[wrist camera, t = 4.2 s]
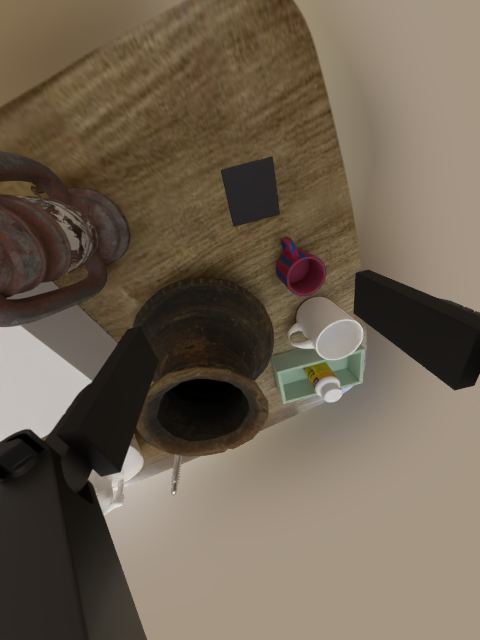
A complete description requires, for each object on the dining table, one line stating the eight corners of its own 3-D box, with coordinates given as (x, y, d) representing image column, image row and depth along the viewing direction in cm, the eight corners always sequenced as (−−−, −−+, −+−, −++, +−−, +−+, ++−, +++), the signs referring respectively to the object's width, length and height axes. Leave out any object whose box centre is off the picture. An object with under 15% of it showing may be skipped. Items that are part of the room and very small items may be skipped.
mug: (275, 311, 45) (291, 339, 36) (329, 288, 44) (361, 311, 35) (286, 341, 49) (303, 373, 40) (335, 321, 48) (365, 349, 39)
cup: (282, 288, 43) (293, 302, 37) (264, 241, 38) (274, 248, 32) (313, 274, 42) (330, 285, 36) (299, 224, 38) (316, 227, 32)
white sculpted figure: (162, 442, 61) (121, 644, 33) (92, 464, 62) (-6, 679, 34) (128, 402, 52) (33, 631, 24) (47, 428, 53) (-135, 678, 25)
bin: (350, 335, 51) (365, 348, 46) (349, 367, 56) (362, 383, 51) (270, 356, 51) (277, 372, 46) (277, 387, 56) (283, 404, 51)
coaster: (271, 156, 32) (272, 156, 32) (279, 214, 36) (279, 214, 36) (221, 170, 32) (221, 170, 32) (233, 226, 36) (233, 226, 36)
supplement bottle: (302, 356, 51) (322, 388, 42) (324, 353, 52) (348, 384, 43) (301, 373, 54) (318, 407, 45) (322, 370, 54) (344, 403, 46)
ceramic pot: (165, 377, 50) (136, 489, 30) (126, 277, 38) (37, 354, 19) (267, 359, 51) (303, 455, 31) (260, 256, 39) (309, 308, 20)
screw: (187, 435, 61) (189, 445, 63) (170, 438, 60) (173, 448, 63) (182, 488, 49) (185, 498, 52) (160, 492, 49) (164, 502, 51)
